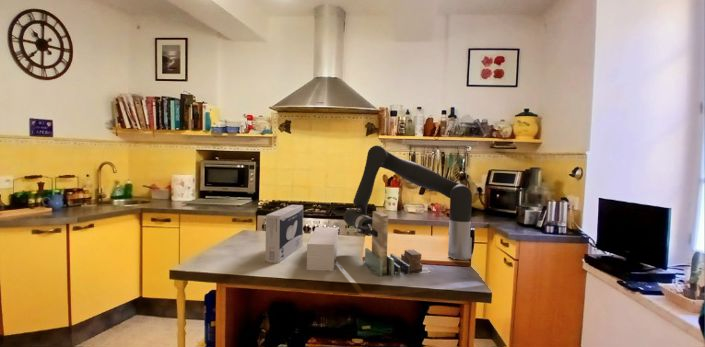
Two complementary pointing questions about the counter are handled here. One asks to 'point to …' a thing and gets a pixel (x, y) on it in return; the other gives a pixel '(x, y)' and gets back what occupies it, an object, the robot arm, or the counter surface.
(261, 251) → the counter surface
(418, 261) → the offcut stack
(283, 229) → the packaging
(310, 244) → the stack of papers
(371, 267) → the rack
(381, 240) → the birch panel
